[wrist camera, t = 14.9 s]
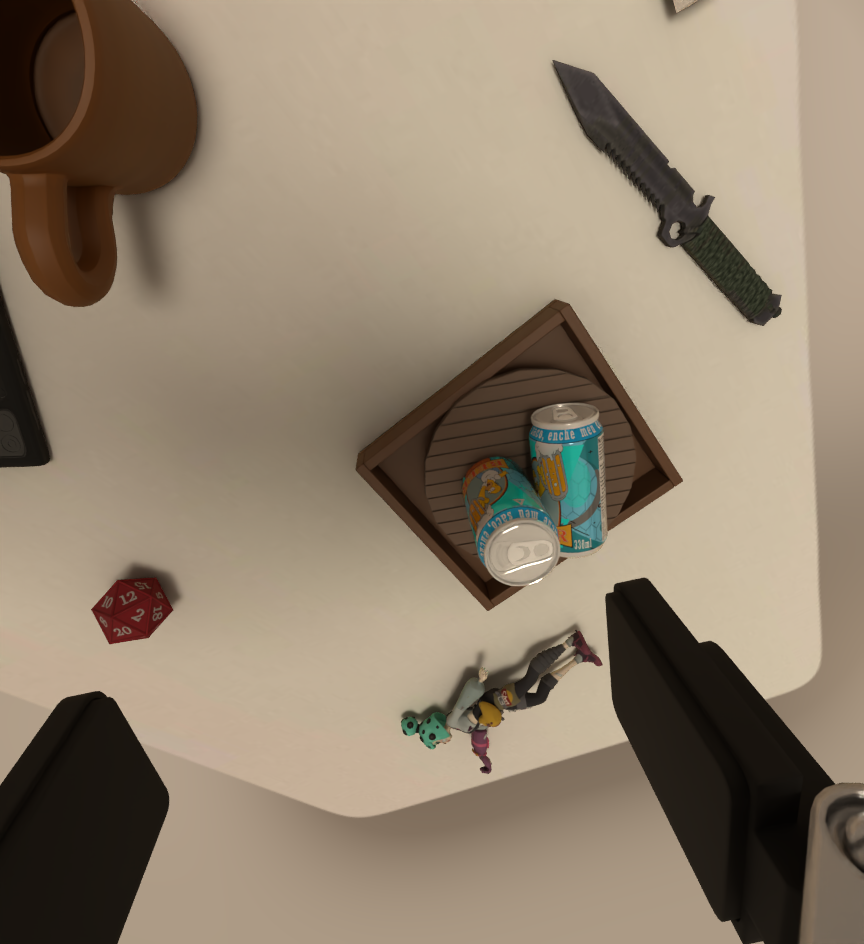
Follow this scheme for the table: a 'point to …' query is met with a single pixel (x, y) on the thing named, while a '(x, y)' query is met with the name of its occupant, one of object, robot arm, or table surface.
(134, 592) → the dice
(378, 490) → the tray
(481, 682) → the figurine
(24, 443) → the smartphone
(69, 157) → the mug
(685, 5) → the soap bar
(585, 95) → the knife
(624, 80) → the table surface
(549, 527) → the blue cans and disc
